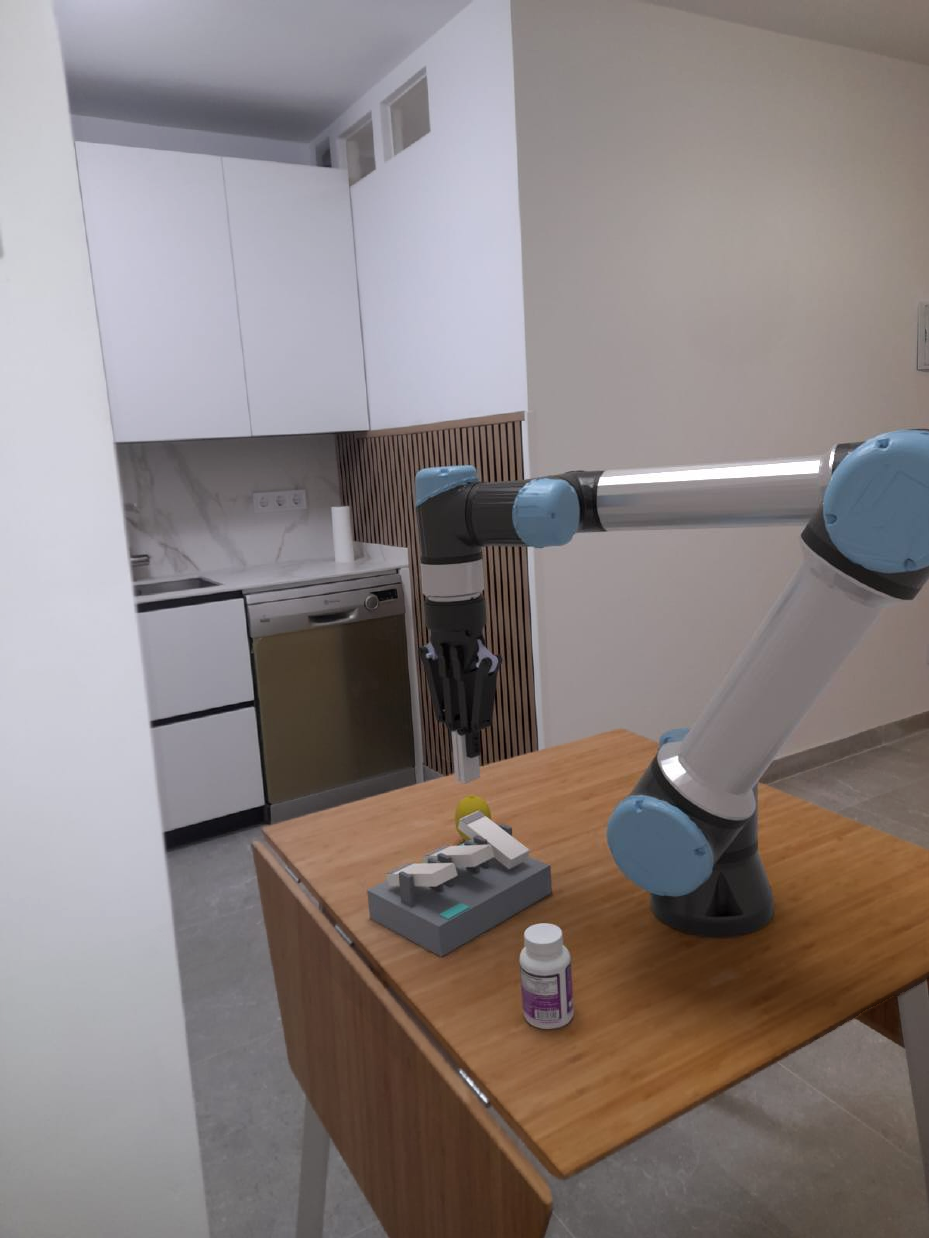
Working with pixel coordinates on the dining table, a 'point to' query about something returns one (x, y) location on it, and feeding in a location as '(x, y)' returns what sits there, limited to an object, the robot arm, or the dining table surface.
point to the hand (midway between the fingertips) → (467, 778)
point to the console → (459, 900)
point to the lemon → (470, 810)
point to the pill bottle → (546, 977)
